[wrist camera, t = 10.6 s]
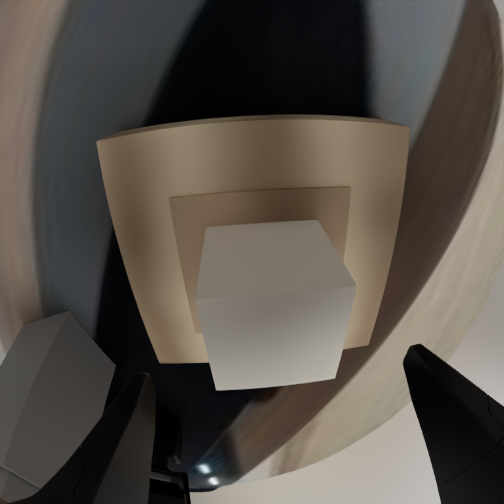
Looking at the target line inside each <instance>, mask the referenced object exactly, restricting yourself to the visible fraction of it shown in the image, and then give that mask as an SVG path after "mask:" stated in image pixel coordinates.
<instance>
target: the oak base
mask: <svg viewBox="0 0 504 504" xmlns="http://www.w3.org/2000/svg"><path fill="white" fill-rule="evenodd" d="M409 135H410V127H409V126H405V125H402V124H398V123H394V122H391V121H387V120H383V119H375V118H364V117H350V116H332V115H255V116H237V117H223V118H211V119H201V120H192V121H183V122H175V123H168V124H161V125H155V126H149V127H143V128H137V129H131V130H126V131H121V132H118V133H115V134H113V135H111V136H108V137H106V138H103V139H101V140H99V141H96V142H97V148H98V154H99V160H100V166H101V171H102V176H103V181H104V186H105V191H106V196H107V200H108V204H109V209H110V213H111V217H112V221H113V225H114V229H115V233H116V237H117V240H118V244H119V248H120V251H121V255H122V258H123V262H124V265H125V268H126V272H127V275H128V278H129V281H130V284H131V287H132V290H133V293H134V296H135V299H136V302H137V305H138V308H139V311H140V314H141V317H142V319H143V322H144V325H145V327H146V330H147V333H148V335H149V338H150V340H151V343H152V345H153V348H154V350H155V353H156V355H157V358H158V360H159V363H204V362H209V359H208V355H207V351H206V346H205V342H204V338H203V333H202V329H201V324H200V320H199V315H198V310H197V306H196V301H195V297H196V290H197V283H198V276H199V269H200V263H201V256H202V250H203V244H204V238H205V232H206V227H214V226H227V225H240V224H255V223H270V222H286V221H303V220H318V221H319V223H320V224H321V226H322V228H323V229H324V231H325V232H326V234H327V236H328V237H329V239H330V241H331V242H332V244H333V246H334V247H335V249H336V251H337V252H338V254H339V256H340V257H341V259H342V261H343V262H344V264H345V266H346V268H347V269H348V271H349V273H350V275H351V276H352V278H353V280H354V282H355V283H356V285H357V287H356V292H355V297H354V302H353V307H352V311H351V316H350V321H349V325H348V329H347V334H346V338H345V342H344V346H343V349H348V348H354V347H360V346H365V345H368V344H369V341H370V337H371V334H372V331H373V328H374V325H375V321H376V318H377V314H378V311H379V307H380V304H381V300H382V296H383V292H384V289H385V285H386V281H387V276H388V272H389V268H390V264H391V259H392V254H393V250H394V245H395V240H396V235H397V229H398V224H399V218H400V212H401V206H402V199H403V192H404V185H405V177H406V168H407V159H408V148H409Z"/></svg>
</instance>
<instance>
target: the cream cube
mask: <svg viewBox="0 0 504 504" xmlns="http://www.w3.org/2000/svg"><path fill="white" fill-rule="evenodd" d="M356 287H357V285H356V283H355V282H354V280H353V278H352V276H351V275H350V273H349V271H348V269H347V268H346V266H345V264H344V262H343V261H342V259H341V257H340V256H339V254H338V252H337V251H336V249H335V247H334V246H333V244H332V242H331V241H330V239H329V237H328V236H327V234H326V232H325V231H324V229H323V228H322V226H321V224H320V223H319V221H318V220H303V221H286V222H270V223H255V224H240V225H227V226H214V227H206V232H205V238H204V244H203V250H202V256H201V263H200V269H199V276H198V283H197V290H196V297H195V301H196V306H197V310H198V315H199V320H200V324H201V329H202V333H203V338H204V342H205V346H206V351H207V355H208V359H209V363H210V367H211V371H212V375H213V379H214V383H215V387H216V390H236V389H251V388H263V387H274V386H284V385H292V384H300V383H308V382H315V381H322V380H328V379H334V378H335V376H336V372H337V369H338V365H339V361H340V358H341V354H342V350H343V346H344V342H345V338H346V334H347V329H348V325H349V321H350V316H351V311H352V307H353V302H354V297H355V292H356Z"/></svg>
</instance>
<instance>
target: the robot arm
mask: <svg viewBox="0 0 504 504" xmlns="http://www.w3.org/2000/svg"><path fill="white" fill-rule="evenodd" d="M403 367H404V371H405V374H406V378H407V383H408V387H409V391H410V395H411V399H412V402H413V406H414V409H415V412H416V414H417V417H418V420H419V424H420V427H421V430H422V433H423V436H424V439H425V442H426V446H427V450H428V453H429V456H430V460H431V463H432V467H433V471H434V475H435V478H436V483H437V486H438V492H439V496H440V500H441V504H504V406H502V405H501V404H500V403H498V402H497V401H495V400H494V399H493V398H492V397H490V396H489V395H487V394H486V393H485V392H484V391H482V390H481V389H480V388H479V387H477V386H476V385H475V384H473V383H472V382H471V381H469V380H468V379H467V378H466V377H464V376H463V375H462V374H460V373H459V372H458V371H456V370H455V369H454V368H452V367H451V366H450V365H448V364H447V363H446V362H444V361H443V360H442V359H440V358H439V357H438V356H436V355H435V354H434V353H432V352H431V351H430V350H428V349H427V348H426V347H424V346H423V345H421V344H416V345H412V346H410V347H409V349H408V351H407V354H406V356H405V358H404V360H403ZM155 408H156V388H155V385H154V383H153V381H152V379H151V377H150V375H149V374H148V373H141V372H138V373H136V374H135V375H134V376H133V377H132V378H131V380H130V381H129V382H128V383H127V385H126V386H125V387H124V389H123V390H122V391H121V392H120V394H119V395H118V396H117V397H116V399H115V400H114V401H113V403H112V404H111V405H110V406H109V408H108V409H107V410H106V412H105V413H104V414H103V415H102V417H101V418H100V419H99V421H98V422H97V423H96V424H95V426H94V427H93V428H92V430H91V431H90V432H89V434H88V435H87V436H86V437H85V439H84V440H83V441H82V443H81V444H80V446H79V447H78V448H77V449H76V450H75V452H74V453H73V454H72V456H71V457H70V458H69V459H68V460H67V462H66V463H65V464H64V465H63V466H62V467H61V468H60V469H59V471H58V472H57V473H56V474H55V475H54V476H53V477H52V478H51V479H50V480H49V481H48V482H47V483H46V484H45V485H44V486H43V487H42V488H41V489H40V490H39V491H38V492H36V493H35V494H33V495H32V496H30V497H28V498H24V499H21V500H18V501H14V502H10V503H6V504H191V501H190V493H189V484H188V476H187V473H183V472H182V473H180V472H175V471H176V463H180V462H181V452H182V437H183V433H182V431H181V429H180V428H179V426H178V425H177V424H176V423H175V421H174V419H173V417H172V416H171V414H170V413H169V412H168V411H157V410H155Z"/></svg>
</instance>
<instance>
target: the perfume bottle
mask: <svg viewBox="0 0 504 504" xmlns="http://www.w3.org/2000/svg"><path fill="white" fill-rule="evenodd" d="M115 367H116V365H115V364H114V363H113V362H112V361H111V360H110V359H109V358H108V357H107V356H106V354H105V353H104V352H103V351H102V350H101V349H100V348H99V346H98V345H97V344H96V343H95V342H94V341H93V339H92V338H91V337H90V336H89V335H88V333H87V332H86V331H85V330H84V328H83V327H82V326H81V325H80V323H79V322H78V321H77V320H76V318H75V317H74V316H73V314H72V313H71V312H70V311H66V312H63V313H59V314H56V315H53V316H50V317H46V318H43V319H40V320H37V321H33V322H30V323H27V324H24V326H23V328H22V329H21V331H20V332H19V334H18V336H17V337H16V339H15V341H14V343H13V344H12V346H11V348H10V350H9V351H8V353H7V355H6V357H5V359H4V360H3V362H2V364H1V366H0V504H6V503H10V502H14V501H18V500H21V499H24V498H28V497H30V496H32V495H33V494H35V493H36V492H38V491H39V490H40V489H41V488H42V487H43V486H44V485H45V484H46V483H47V482H48V481H49V480H50V479H51V478H52V477H53V476H54V475H55V474H56V473H57V472H58V471H59V469H60V468H61V467H62V466H63V465H64V464H65V463H66V462H67V460H68V459H69V458H70V457H71V456H72V454H73V453H74V452H75V450H76V449H77V448H78V447H79V446H80V444H81V443H82V441H83V440H84V439H85V437H86V436H87V435H88V434H89V432H90V431H91V430H92V428H93V427H94V426H95V424H96V423H97V422H98V421H99V419H100V418H101V417H102V414H103V410H104V406H105V402H106V398H107V395H108V391H109V388H110V384H111V381H112V377H113V374H114V370H115Z"/></svg>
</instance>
